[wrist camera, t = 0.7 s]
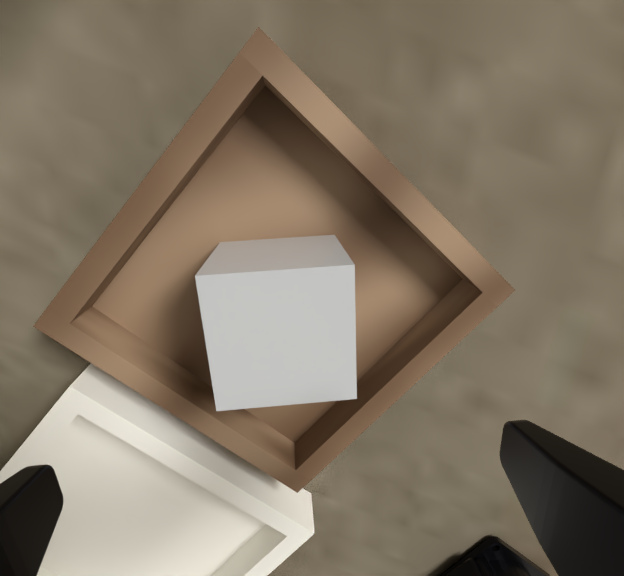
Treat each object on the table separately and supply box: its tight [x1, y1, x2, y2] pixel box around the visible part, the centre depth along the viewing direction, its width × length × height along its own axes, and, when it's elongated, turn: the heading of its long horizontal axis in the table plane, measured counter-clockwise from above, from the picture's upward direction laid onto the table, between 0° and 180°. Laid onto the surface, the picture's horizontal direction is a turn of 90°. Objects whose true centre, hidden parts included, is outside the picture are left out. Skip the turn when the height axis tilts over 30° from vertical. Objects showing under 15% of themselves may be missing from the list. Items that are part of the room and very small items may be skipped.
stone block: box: [195, 235, 357, 411], centre depth 15 cm, size 5×5×5 cm
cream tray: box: [0, 363, 314, 576], centre depth 21 cm, size 14×14×2 cm
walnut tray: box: [33, 27, 515, 493], centre depth 17 cm, size 14×14×2 cm
